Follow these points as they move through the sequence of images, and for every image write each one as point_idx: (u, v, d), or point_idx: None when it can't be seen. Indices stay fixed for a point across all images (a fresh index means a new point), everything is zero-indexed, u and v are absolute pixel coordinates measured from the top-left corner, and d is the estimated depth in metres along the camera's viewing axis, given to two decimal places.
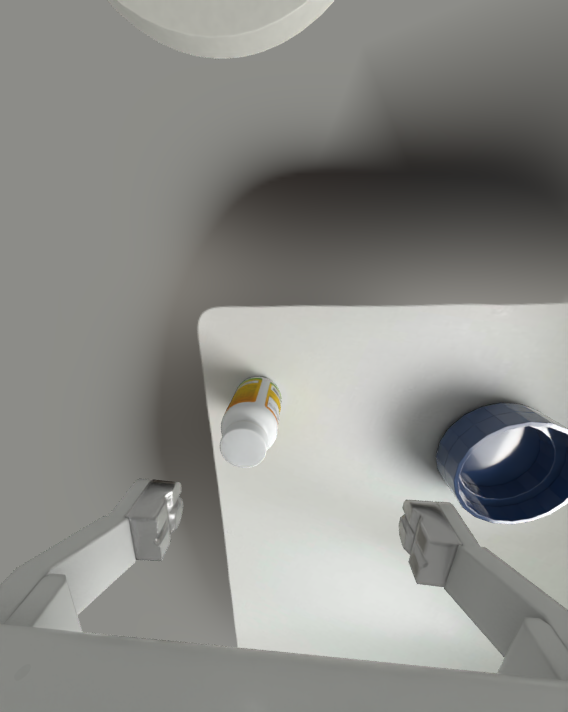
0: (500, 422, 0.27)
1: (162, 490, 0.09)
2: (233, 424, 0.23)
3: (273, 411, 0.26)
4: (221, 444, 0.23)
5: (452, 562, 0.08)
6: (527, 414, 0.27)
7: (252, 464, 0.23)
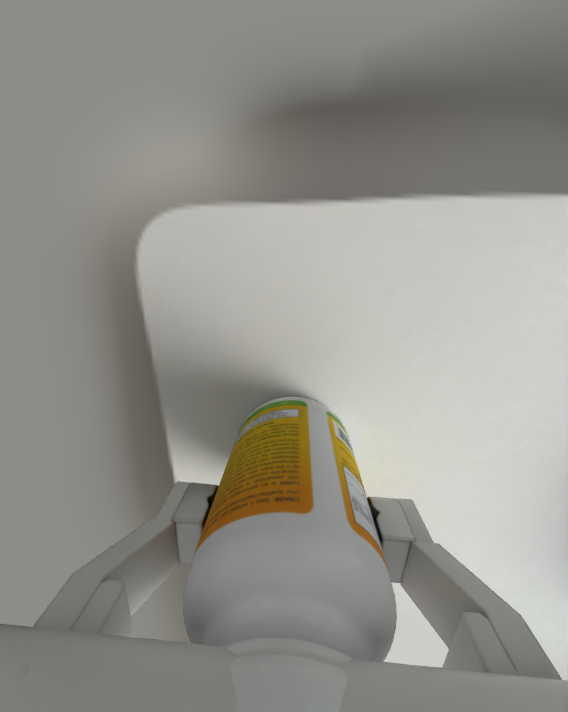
0: None
1: (203, 493, 0.09)
2: None
3: (374, 536, 0.07)
4: None
5: (406, 558, 0.08)
6: None
7: None
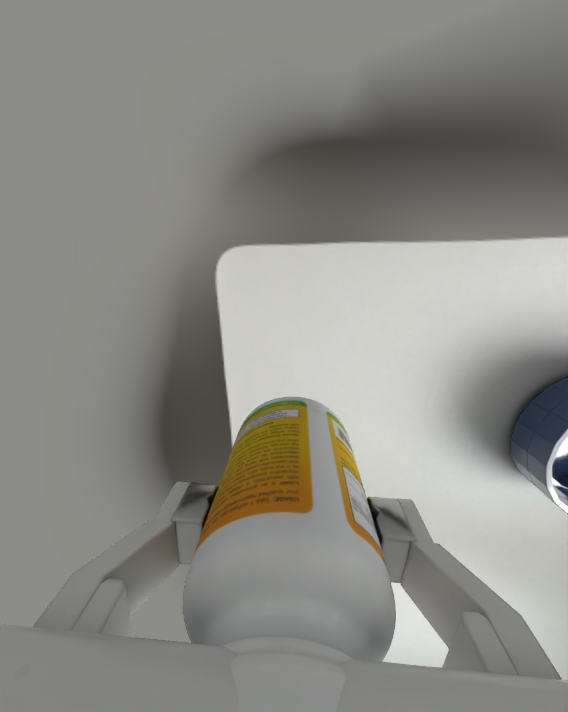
0: None
1: (203, 493, 0.09)
2: None
3: (373, 536, 0.07)
4: None
5: (406, 558, 0.08)
6: None
7: None
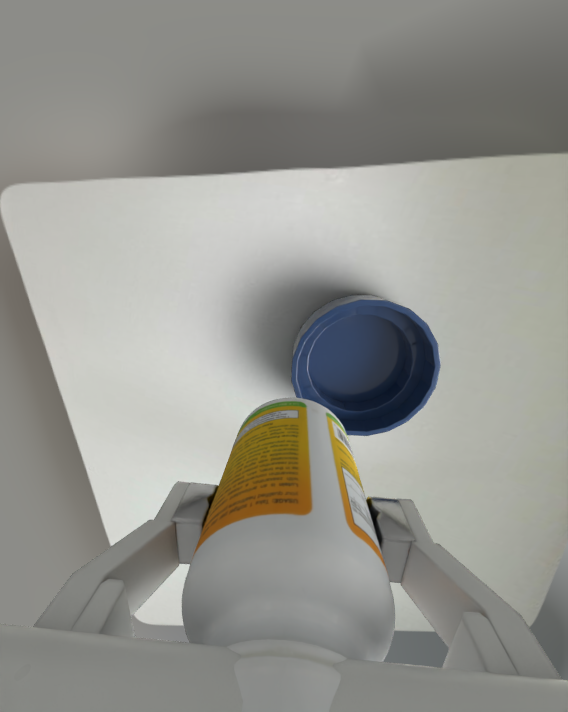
0: (334, 306, 0.23)
1: (203, 493, 0.09)
2: None
3: (372, 537, 0.07)
4: None
5: (406, 558, 0.08)
6: (367, 297, 0.23)
7: None
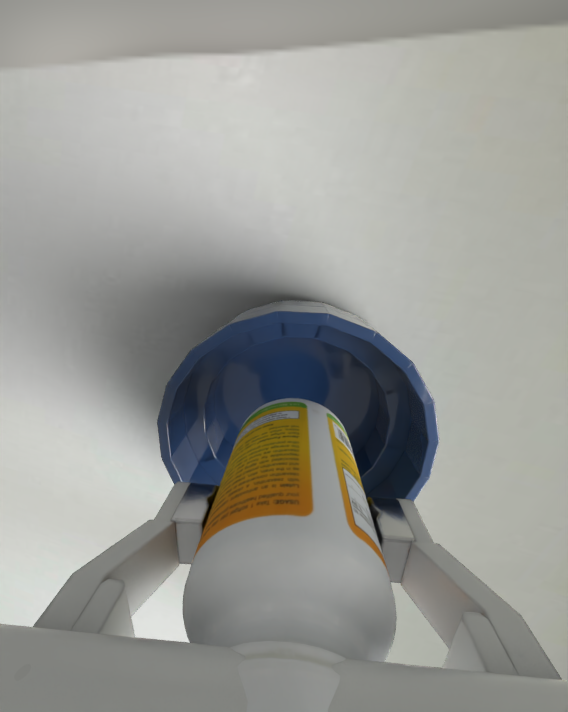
0: (231, 322, 0.12)
1: (203, 493, 0.09)
2: None
3: (374, 538, 0.07)
4: None
5: (406, 558, 0.08)
6: (298, 307, 0.12)
7: None
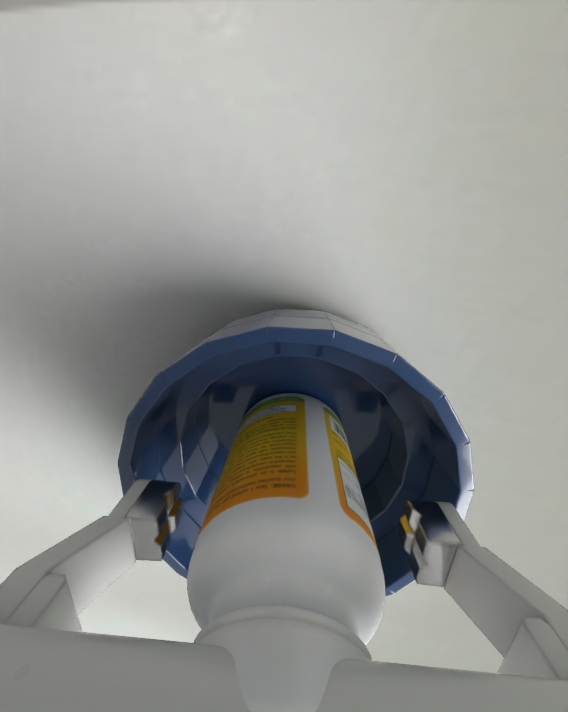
0: (208, 339, 0.09)
1: (163, 490, 0.09)
2: (230, 640, 0.05)
3: (365, 520, 0.08)
4: None
5: (452, 562, 0.08)
6: (295, 319, 0.09)
7: None
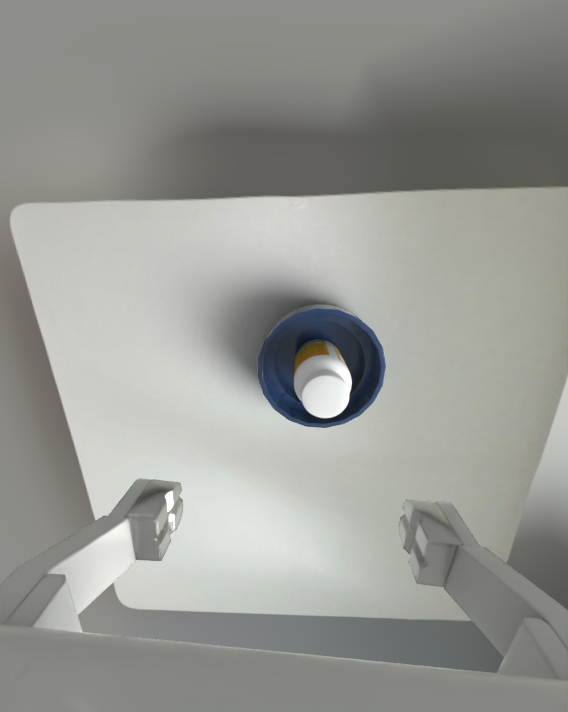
0: (294, 313, 0.27)
1: (163, 490, 0.09)
2: (314, 373, 0.23)
3: (346, 366, 0.25)
4: (303, 392, 0.22)
5: (452, 562, 0.08)
6: (323, 307, 0.27)
7: (333, 414, 0.23)
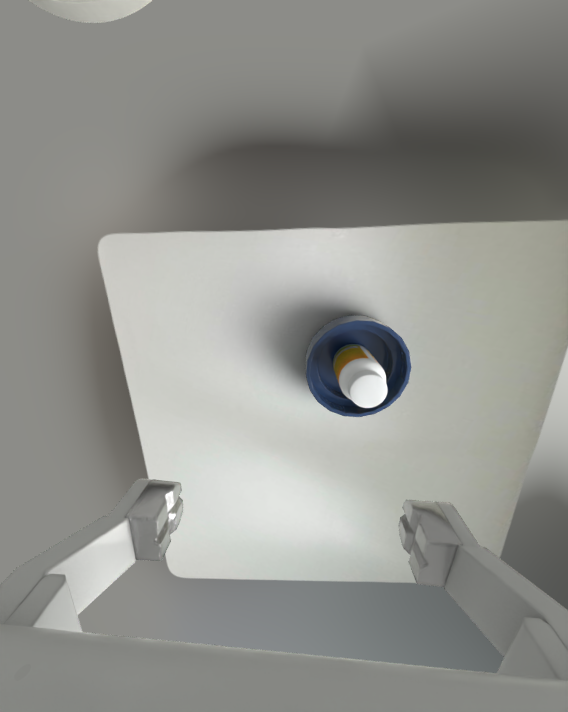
0: (337, 324, 0.33)
1: (163, 490, 0.09)
2: (359, 373, 0.29)
3: None
4: (351, 388, 0.29)
5: (452, 562, 0.08)
6: (360, 318, 0.33)
7: (374, 404, 0.29)
